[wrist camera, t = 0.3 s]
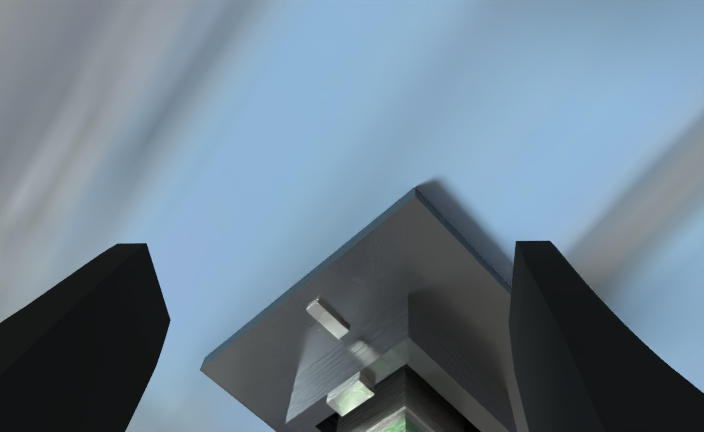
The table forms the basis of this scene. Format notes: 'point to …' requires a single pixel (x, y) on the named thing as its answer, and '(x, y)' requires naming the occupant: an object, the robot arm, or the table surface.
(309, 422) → the stand base
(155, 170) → the table surface
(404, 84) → the table surface
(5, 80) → the table surface
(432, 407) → the column
